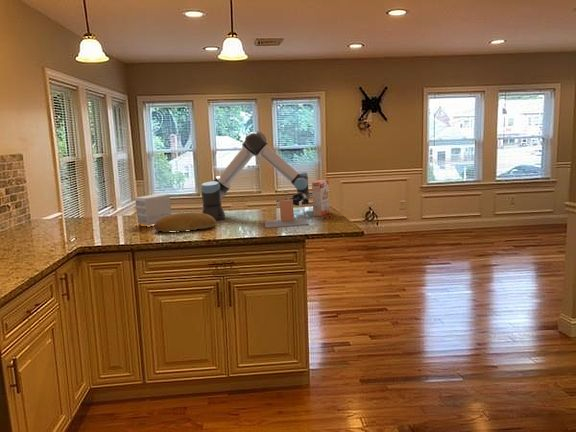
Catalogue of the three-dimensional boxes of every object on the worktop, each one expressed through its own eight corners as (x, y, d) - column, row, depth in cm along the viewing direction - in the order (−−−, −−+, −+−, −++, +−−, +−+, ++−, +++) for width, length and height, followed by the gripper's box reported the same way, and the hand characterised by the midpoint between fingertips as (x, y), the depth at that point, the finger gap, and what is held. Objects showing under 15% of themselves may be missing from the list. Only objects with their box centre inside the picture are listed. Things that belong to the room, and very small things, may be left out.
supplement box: (162, 221, 307) (159, 193, 304) (173, 222, 298) (170, 194, 295) (137, 225, 295) (134, 197, 292) (148, 227, 286) (144, 198, 283)
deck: (282, 219, 279) (281, 199, 277) (294, 219, 277) (292, 199, 275) (280, 221, 276) (279, 200, 274) (292, 220, 273) (291, 200, 271)
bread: (215, 230, 265) (213, 212, 263) (152, 235, 263) (150, 217, 262) (218, 224, 283) (216, 207, 281) (159, 228, 281) (157, 212, 280)
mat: (265, 228, 260) (265, 227, 260) (265, 221, 279) (265, 220, 279) (308, 225, 261) (308, 223, 261) (305, 219, 280) (305, 218, 280)
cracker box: (322, 216, 284) (320, 182, 281) (313, 216, 287) (311, 182, 283) (330, 212, 297) (328, 179, 293) (321, 212, 299) (319, 179, 296)
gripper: (318, 204, 294) (309, 210, 275) (280, 205, 302) (269, 210, 282) (317, 192, 293) (308, 197, 273) (279, 193, 301) (268, 198, 281)
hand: (288, 204), depth 278 cm, fingers open, 13 cm apart
